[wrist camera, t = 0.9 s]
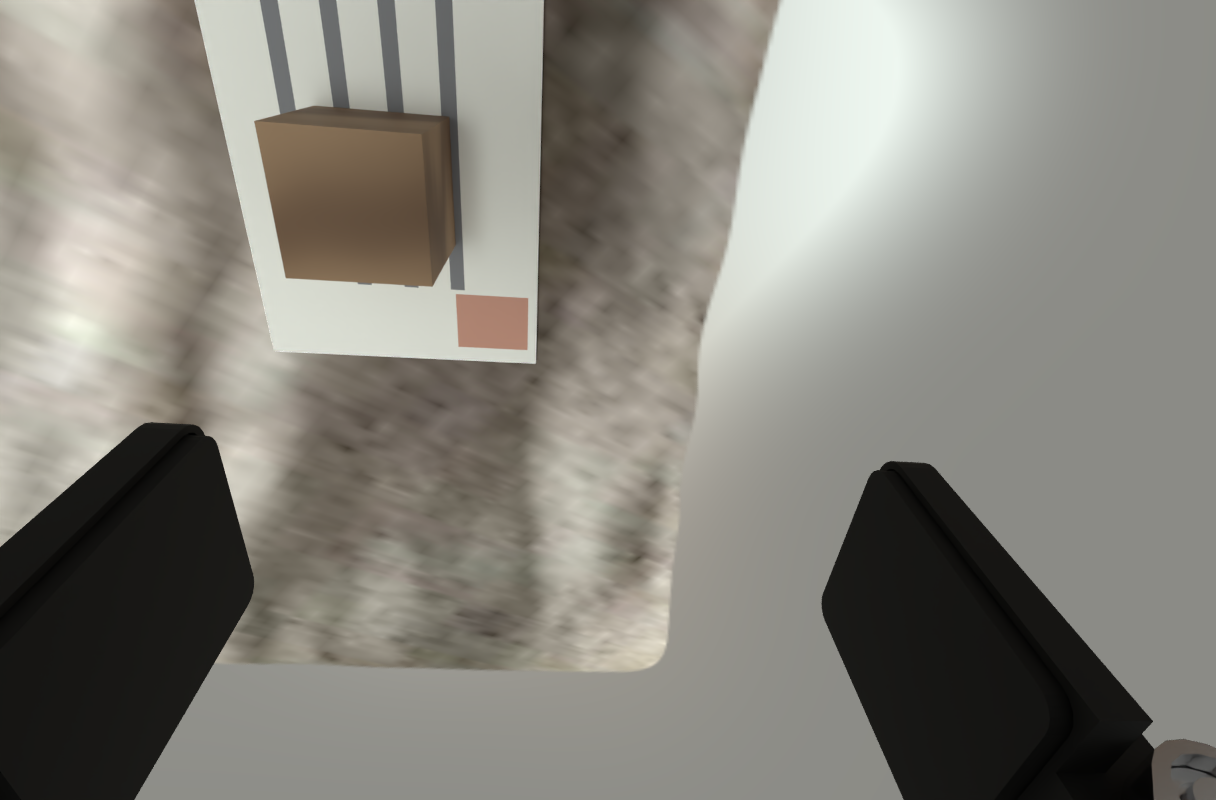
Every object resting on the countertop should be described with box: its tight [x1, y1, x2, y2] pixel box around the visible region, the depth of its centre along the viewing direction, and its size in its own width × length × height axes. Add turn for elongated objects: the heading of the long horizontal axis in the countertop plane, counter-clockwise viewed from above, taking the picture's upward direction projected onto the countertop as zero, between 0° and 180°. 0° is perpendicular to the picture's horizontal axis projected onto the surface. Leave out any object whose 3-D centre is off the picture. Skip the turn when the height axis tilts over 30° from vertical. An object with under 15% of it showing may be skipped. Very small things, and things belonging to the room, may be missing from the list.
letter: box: [194, 0, 544, 364], centre depth 24 cm, size 16×12×1 cm
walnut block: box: [254, 106, 456, 287], centre depth 22 cm, size 5×5×5 cm
